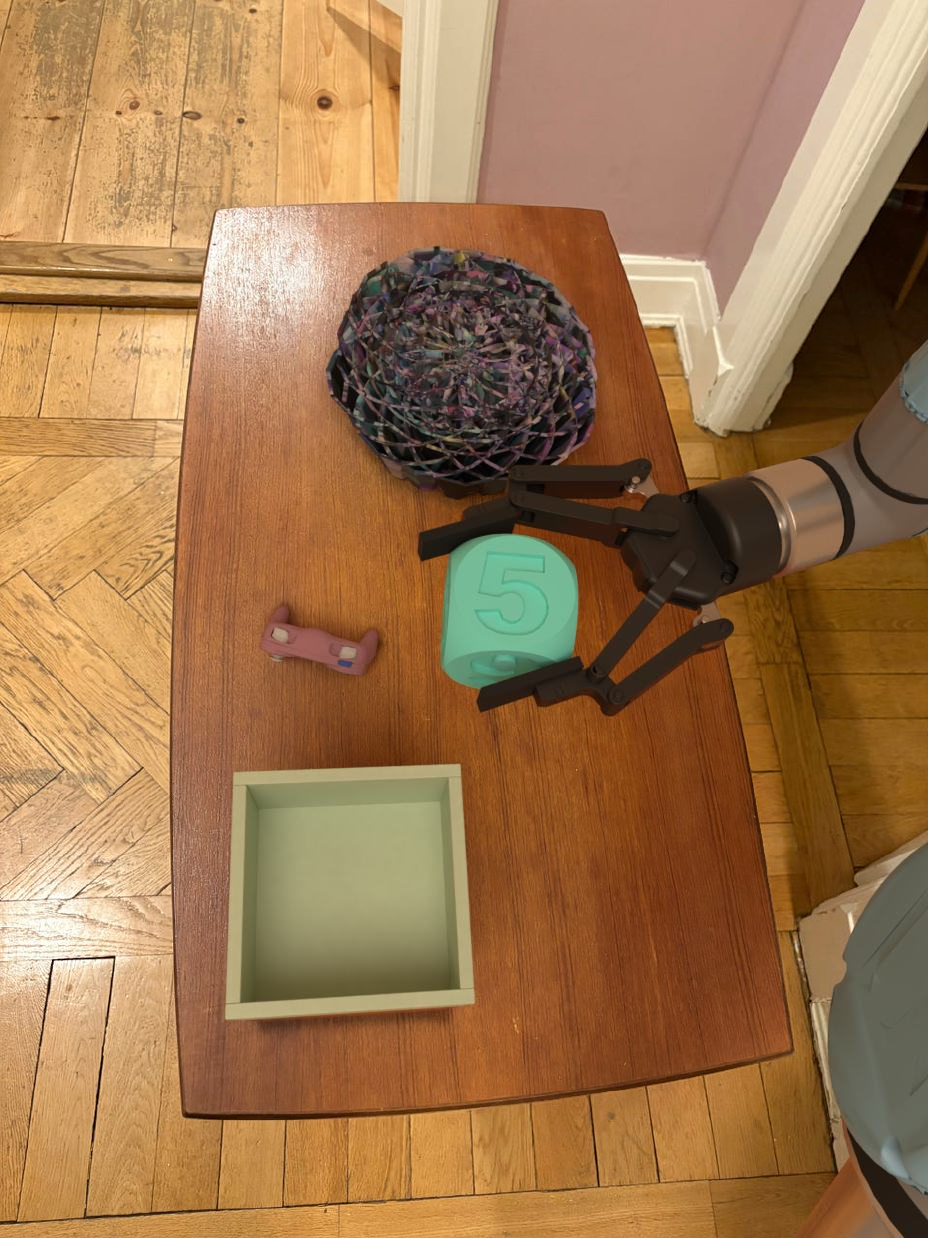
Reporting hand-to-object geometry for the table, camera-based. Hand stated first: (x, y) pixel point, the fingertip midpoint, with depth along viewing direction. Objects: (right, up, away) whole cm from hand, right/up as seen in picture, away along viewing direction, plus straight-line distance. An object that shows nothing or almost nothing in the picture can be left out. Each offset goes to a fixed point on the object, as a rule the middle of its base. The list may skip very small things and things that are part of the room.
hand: (449, 621), depth 60 cm
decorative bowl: (0, +21, +37) cm, 43 cm away
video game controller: (-12, -3, +26) cm, 28 cm away
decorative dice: (+3, -1, +7) cm, 7 cm away
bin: (-6, -18, +2) cm, 19 cm away
